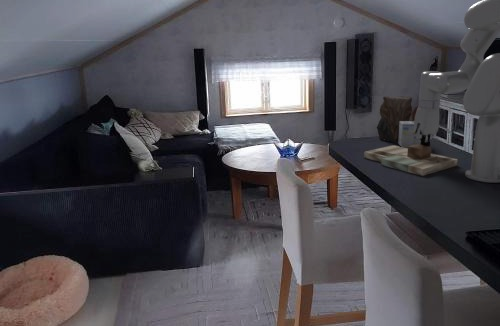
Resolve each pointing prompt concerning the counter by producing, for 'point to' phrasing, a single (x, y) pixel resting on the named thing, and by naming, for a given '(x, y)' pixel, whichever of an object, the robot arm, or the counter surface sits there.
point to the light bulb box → (407, 134)
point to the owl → (393, 116)
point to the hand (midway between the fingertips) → (424, 151)
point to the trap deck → (409, 160)
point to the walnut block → (419, 151)
